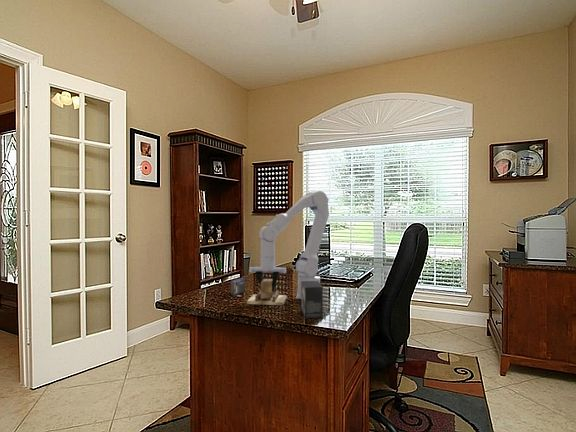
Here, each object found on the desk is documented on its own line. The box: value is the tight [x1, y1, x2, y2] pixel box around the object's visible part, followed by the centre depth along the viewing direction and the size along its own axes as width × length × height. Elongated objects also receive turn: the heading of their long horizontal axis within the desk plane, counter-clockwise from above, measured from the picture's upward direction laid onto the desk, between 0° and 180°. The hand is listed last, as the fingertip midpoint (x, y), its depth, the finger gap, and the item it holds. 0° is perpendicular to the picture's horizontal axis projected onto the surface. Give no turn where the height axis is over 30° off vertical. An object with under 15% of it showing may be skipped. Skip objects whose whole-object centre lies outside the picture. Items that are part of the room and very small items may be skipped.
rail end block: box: [260, 278, 275, 299], centre depth 137 cm, size 4×8×6 cm, turn 174°
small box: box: [300, 281, 324, 319], centre depth 119 cm, size 11×6×10 cm, turn 5°
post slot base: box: [246, 290, 288, 306], centre depth 137 cm, size 14×12×3 cm
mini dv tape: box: [230, 277, 246, 296], centre depth 150 cm, size 8×2×6 cm, turn 152°
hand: (267, 290), depth 137 cm, fingers closed on rail end block, 4 cm apart
